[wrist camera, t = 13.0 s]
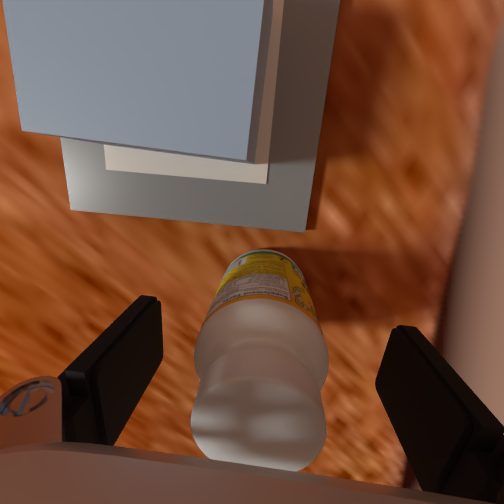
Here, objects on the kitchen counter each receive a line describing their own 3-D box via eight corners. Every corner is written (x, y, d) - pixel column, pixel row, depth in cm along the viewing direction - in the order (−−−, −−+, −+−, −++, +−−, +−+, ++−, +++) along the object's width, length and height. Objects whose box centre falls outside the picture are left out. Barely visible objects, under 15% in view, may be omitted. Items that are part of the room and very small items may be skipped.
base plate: (303, 230, 15) (305, 232, 14) (78, 208, 15) (69, 210, 15) (351, -91, 11) (357, -108, 10) (36, -105, 11) (21, -123, 10)
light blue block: (254, 164, 13) (246, 160, 9) (108, 145, 14) (22, 130, 9) (272, 14, 11) (275, -101, 7) (101, -6, 12) (-18, -132, 7)
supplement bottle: (221, 246, 16) (155, 350, 7) (308, 247, 15) (365, 360, 6) (224, 320, 17) (175, 486, 8) (302, 323, 17) (341, 500, 8)
